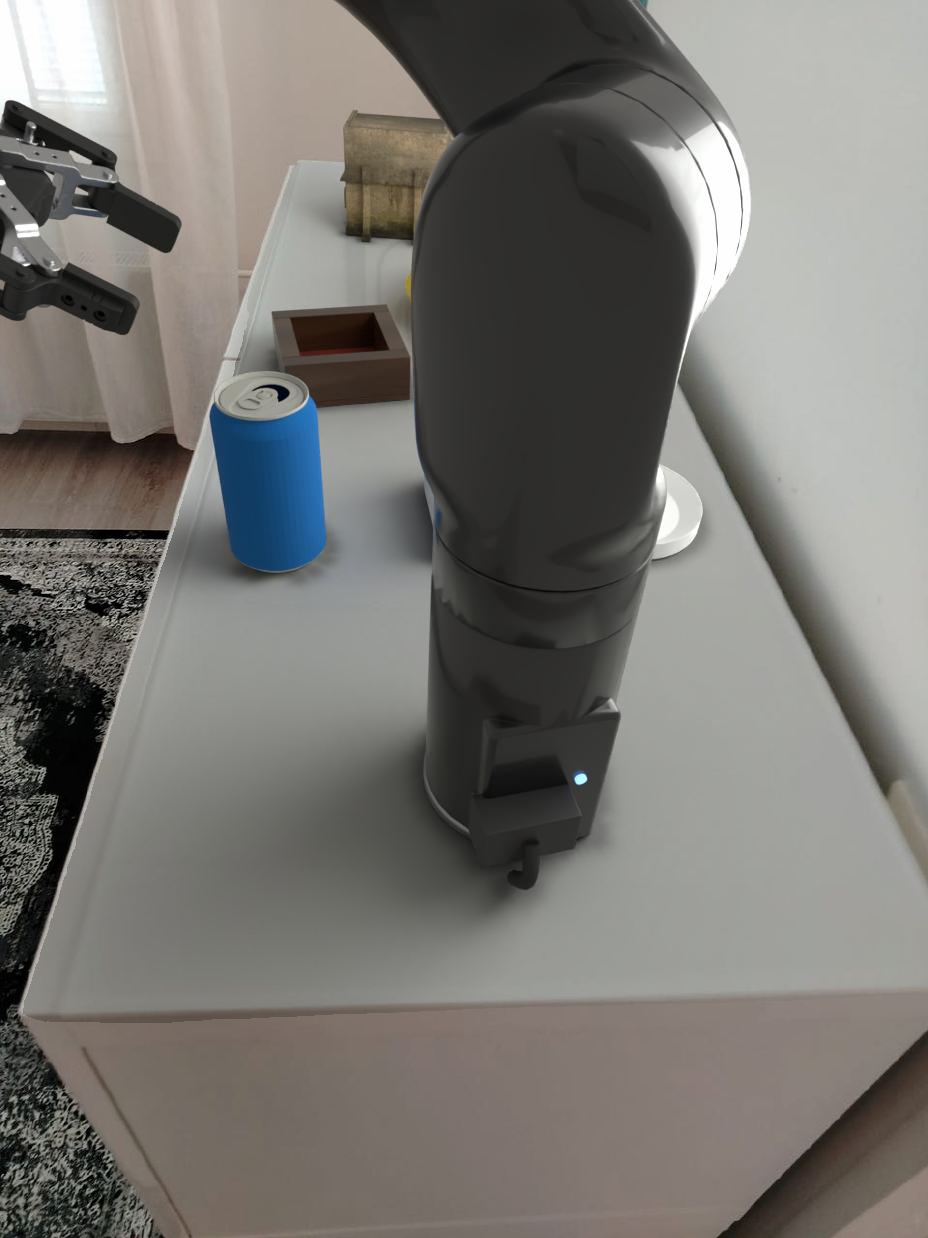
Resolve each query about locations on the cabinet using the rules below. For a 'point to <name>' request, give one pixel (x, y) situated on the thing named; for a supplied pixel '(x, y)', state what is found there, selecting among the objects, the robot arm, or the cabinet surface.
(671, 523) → the white flat rounded piece
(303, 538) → the beverage can
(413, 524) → the cabinet surface
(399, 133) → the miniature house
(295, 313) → the brown wooden open box
